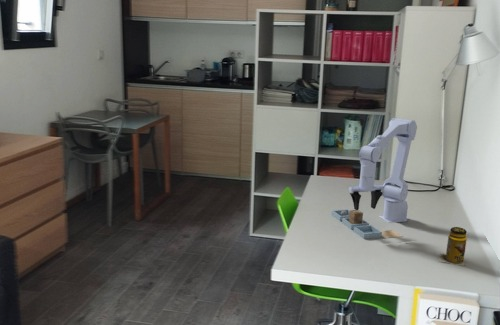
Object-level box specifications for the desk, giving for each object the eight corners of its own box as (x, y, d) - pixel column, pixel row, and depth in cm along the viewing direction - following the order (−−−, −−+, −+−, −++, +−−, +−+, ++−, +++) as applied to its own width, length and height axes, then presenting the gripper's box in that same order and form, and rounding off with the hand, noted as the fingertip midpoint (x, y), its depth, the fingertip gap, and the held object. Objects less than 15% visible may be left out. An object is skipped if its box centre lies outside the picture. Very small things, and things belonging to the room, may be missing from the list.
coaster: (392, 231, 209) (392, 229, 209) (402, 237, 203) (402, 236, 203) (377, 232, 207) (377, 231, 207) (386, 239, 201) (387, 237, 201)
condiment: (464, 266, 179) (469, 234, 176) (438, 261, 182) (443, 230, 179) (464, 258, 185) (468, 227, 183) (439, 254, 188) (443, 223, 186)
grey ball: (345, 215, 224) (345, 209, 224) (348, 218, 222) (349, 211, 221) (339, 216, 223) (339, 209, 223) (342, 218, 221) (342, 212, 220)
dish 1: (347, 214, 227) (348, 209, 227) (356, 220, 220) (356, 215, 219) (331, 215, 225) (331, 210, 224) (339, 222, 218) (340, 216, 217)
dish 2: (358, 222, 218) (359, 216, 218) (368, 229, 211) (369, 223, 210) (341, 223, 216) (342, 218, 215) (351, 230, 208) (351, 224, 208)
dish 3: (370, 230, 209) (371, 225, 208) (381, 238, 202) (382, 232, 201) (353, 232, 207) (353, 226, 206) (363, 239, 199) (364, 233, 199)
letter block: (357, 223, 216) (358, 209, 214) (361, 226, 212) (363, 212, 211) (348, 224, 214) (349, 210, 213) (353, 227, 211) (354, 213, 209)
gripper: (378, 172, 208) (375, 204, 211) (346, 174, 204) (343, 206, 207) (387, 177, 202) (384, 209, 205) (355, 179, 197) (352, 212, 200)
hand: (364, 208), depth 205 cm, fingers open, 7 cm apart
